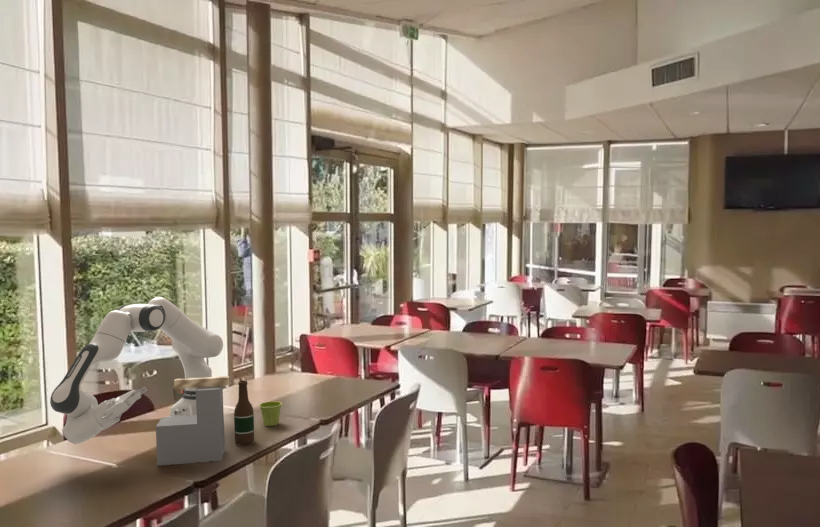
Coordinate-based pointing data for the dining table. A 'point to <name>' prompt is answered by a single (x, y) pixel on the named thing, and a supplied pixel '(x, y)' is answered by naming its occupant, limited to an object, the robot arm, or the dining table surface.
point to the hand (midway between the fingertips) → (143, 391)
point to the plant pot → (270, 412)
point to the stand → (194, 432)
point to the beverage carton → (178, 394)
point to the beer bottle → (243, 417)
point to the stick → (201, 382)
